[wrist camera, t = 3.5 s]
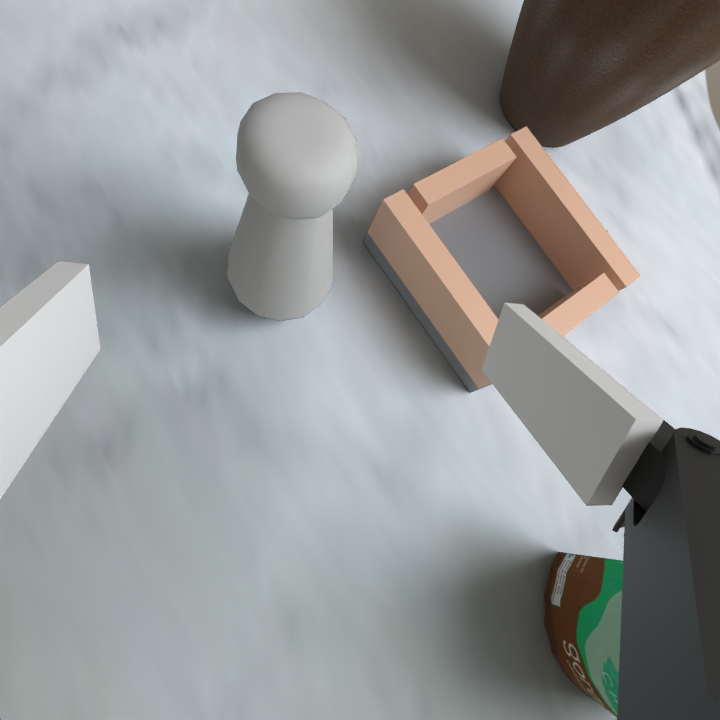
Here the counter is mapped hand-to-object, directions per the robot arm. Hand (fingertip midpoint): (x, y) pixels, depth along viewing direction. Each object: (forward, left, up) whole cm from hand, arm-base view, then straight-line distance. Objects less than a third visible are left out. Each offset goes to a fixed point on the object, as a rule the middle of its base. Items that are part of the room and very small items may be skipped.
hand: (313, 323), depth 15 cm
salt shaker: (-6, +3, -12) cm, 13 cm away
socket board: (0, +16, -12) cm, 20 cm away
